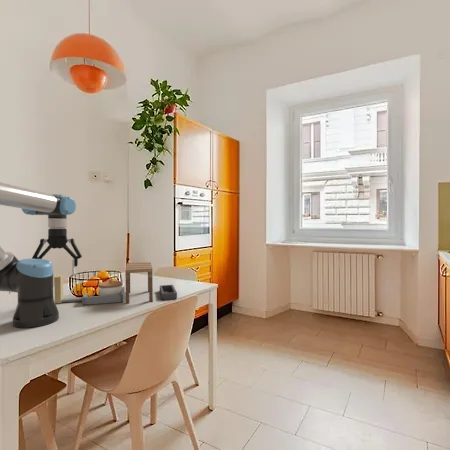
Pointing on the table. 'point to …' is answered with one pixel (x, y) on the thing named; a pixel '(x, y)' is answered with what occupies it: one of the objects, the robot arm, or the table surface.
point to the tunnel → (136, 269)
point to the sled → (85, 299)
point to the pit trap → (168, 292)
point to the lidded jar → (110, 288)
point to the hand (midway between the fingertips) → (57, 274)
